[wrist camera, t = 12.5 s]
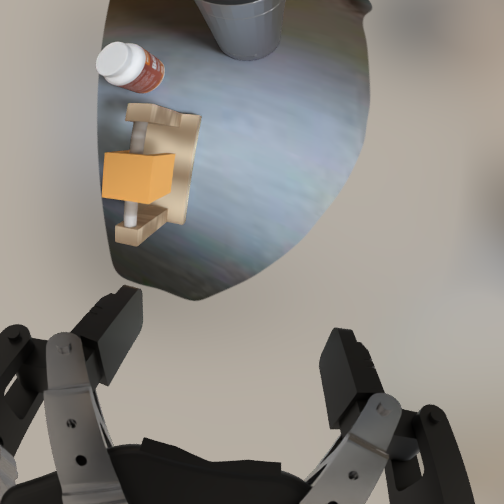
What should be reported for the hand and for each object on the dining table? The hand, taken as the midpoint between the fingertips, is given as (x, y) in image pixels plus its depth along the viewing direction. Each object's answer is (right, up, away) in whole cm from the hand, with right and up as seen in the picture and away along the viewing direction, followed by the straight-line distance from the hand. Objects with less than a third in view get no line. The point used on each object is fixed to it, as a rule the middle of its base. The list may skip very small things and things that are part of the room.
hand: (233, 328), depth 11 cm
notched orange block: (-12, +13, +21) cm, 28 cm away
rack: (-12, +16, +27) cm, 33 cm away
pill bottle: (-15, +30, +22) cm, 40 cm away
